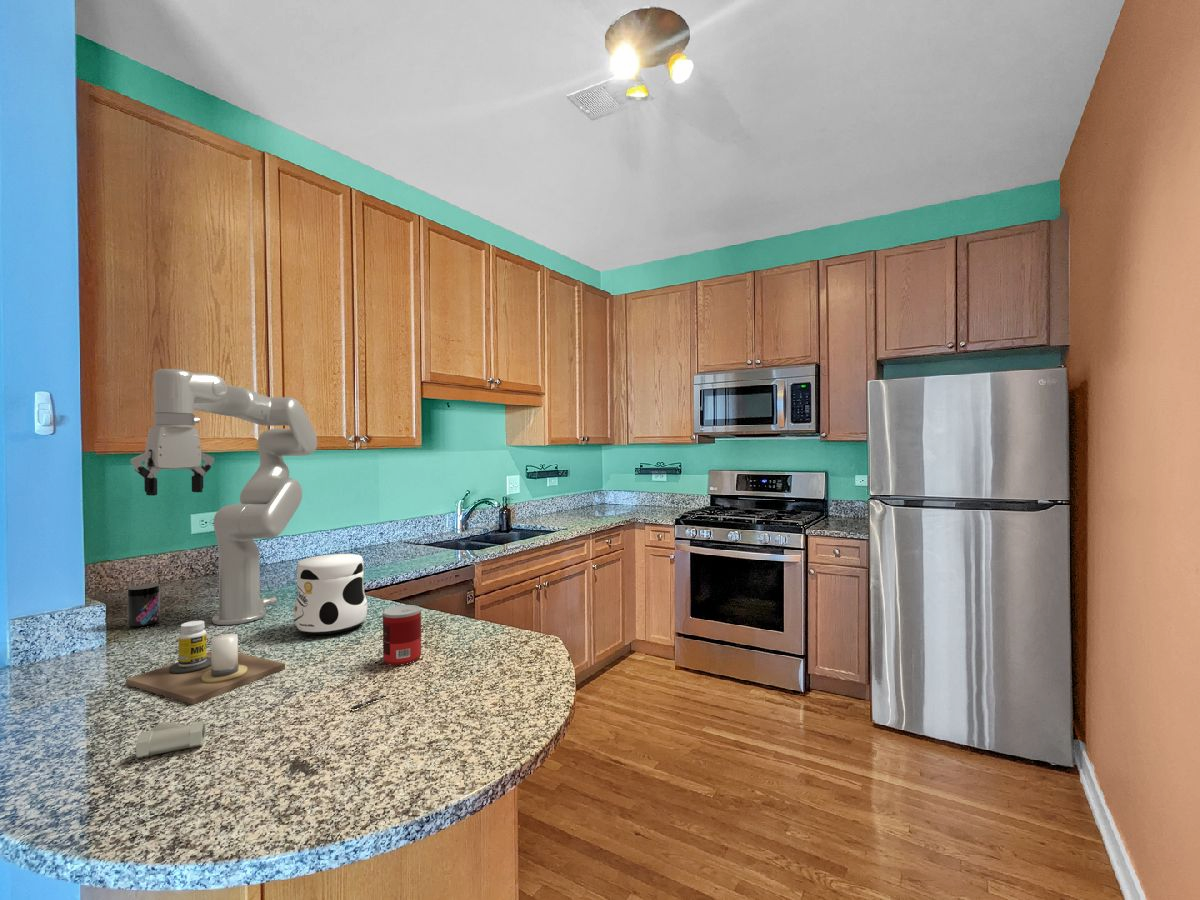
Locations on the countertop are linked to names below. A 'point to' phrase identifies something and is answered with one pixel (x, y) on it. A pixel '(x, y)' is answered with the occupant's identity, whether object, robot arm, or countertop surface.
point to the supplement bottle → (192, 644)
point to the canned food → (401, 634)
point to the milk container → (330, 594)
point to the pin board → (202, 678)
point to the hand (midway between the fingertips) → (175, 493)
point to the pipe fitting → (170, 738)
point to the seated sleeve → (224, 655)
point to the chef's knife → (367, 702)
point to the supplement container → (143, 605)
